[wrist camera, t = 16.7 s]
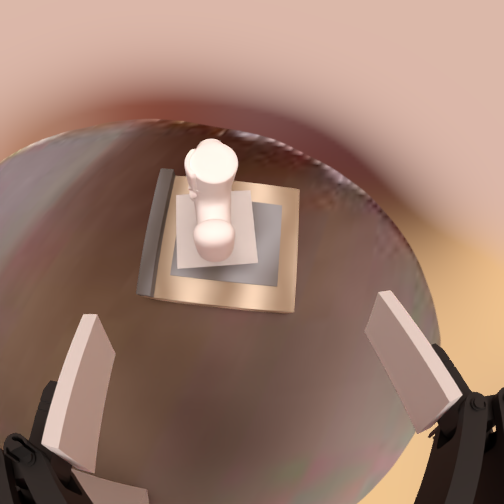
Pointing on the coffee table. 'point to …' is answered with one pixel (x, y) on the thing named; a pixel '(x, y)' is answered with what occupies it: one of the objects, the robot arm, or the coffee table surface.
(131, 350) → the coffee table surface
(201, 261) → the figurine
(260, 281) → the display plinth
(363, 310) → the coffee table surface
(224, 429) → the coffee table surface
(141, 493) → the building blocks
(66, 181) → the coffee table surface
